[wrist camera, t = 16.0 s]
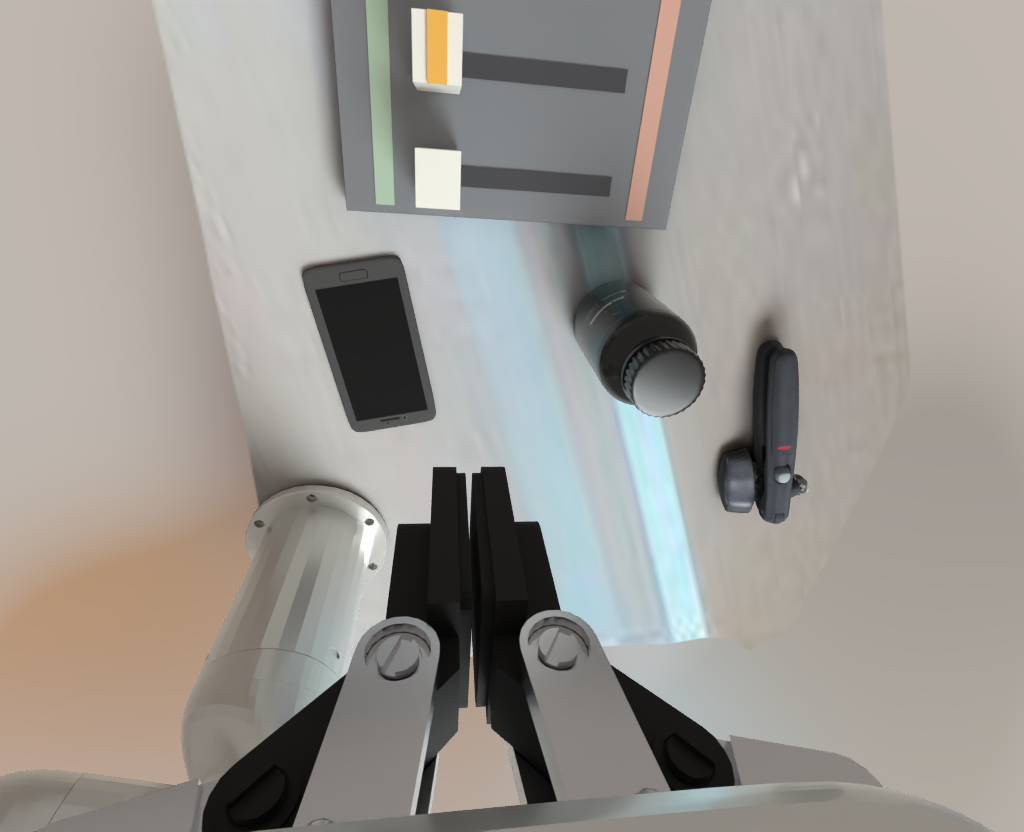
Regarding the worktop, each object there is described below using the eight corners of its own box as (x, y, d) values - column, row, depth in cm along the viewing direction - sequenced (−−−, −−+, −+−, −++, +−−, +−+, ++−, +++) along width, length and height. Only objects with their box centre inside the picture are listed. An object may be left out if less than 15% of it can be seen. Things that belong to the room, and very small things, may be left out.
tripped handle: (459, 94, 31) (461, 85, 26) (417, 90, 30) (412, 81, 26) (460, 33, 29) (463, 12, 25) (416, 28, 29) (410, 6, 24)
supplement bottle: (586, 270, 39) (638, 317, 28) (666, 289, 40) (743, 340, 30) (561, 353, 42) (600, 423, 31) (636, 367, 43) (697, 439, 33)
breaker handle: (458, 201, 33) (459, 210, 29) (419, 198, 33) (415, 207, 29) (459, 150, 32) (461, 151, 28) (419, 147, 32) (414, 147, 27)
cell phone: (401, 252, 37) (400, 254, 36) (438, 416, 44) (438, 420, 43) (301, 267, 37) (298, 270, 36) (353, 430, 44) (352, 435, 43)
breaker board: (655, 225, 38) (665, 230, 36) (351, 206, 35) (346, 210, 33) (713, -78, 30) (730, -93, 28) (327, -136, 27) (318, -156, 25)
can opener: (775, 493, 52) (809, 530, 47) (710, 503, 52) (737, 541, 47) (807, 330, 44) (853, 354, 39) (729, 340, 43) (765, 366, 38)
